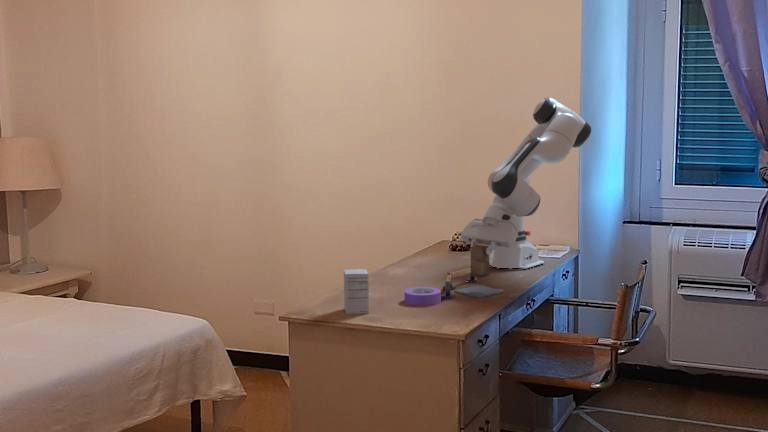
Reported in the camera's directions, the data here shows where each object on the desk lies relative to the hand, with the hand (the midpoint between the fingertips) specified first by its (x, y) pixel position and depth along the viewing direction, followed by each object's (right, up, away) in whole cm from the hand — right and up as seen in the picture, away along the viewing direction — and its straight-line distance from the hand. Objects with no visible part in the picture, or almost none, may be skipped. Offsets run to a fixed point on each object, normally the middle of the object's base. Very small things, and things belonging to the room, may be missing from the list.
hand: (479, 253), depth 302 cm
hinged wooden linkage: (-7, -13, +8) cm, 17 cm away
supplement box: (-40, -17, -22) cm, 49 cm away
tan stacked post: (+1, -8, +1) cm, 8 cm away
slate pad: (0, -13, +2) cm, 14 cm away
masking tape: (-19, -16, -10) cm, 27 cm away
